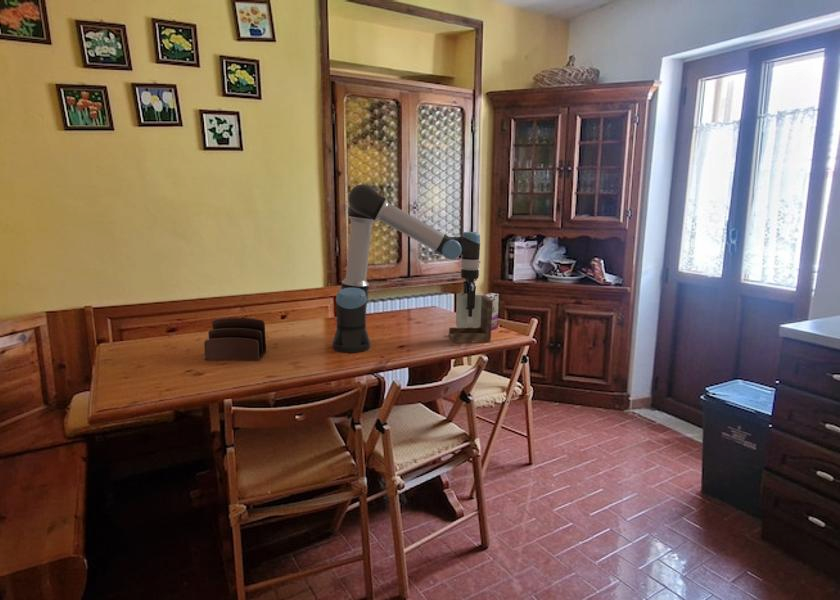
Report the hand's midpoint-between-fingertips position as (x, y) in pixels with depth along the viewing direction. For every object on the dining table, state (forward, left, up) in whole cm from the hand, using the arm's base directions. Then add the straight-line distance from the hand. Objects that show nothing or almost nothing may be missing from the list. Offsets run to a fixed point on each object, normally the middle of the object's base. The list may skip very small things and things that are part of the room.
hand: (468, 322), depth 220 cm
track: (+1, 0, -7) cm, 8 cm away
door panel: (0, 0, -2) cm, 2 cm away
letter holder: (-93, -19, -8) cm, 95 cm away
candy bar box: (+13, +15, -8) cm, 21 cm away
